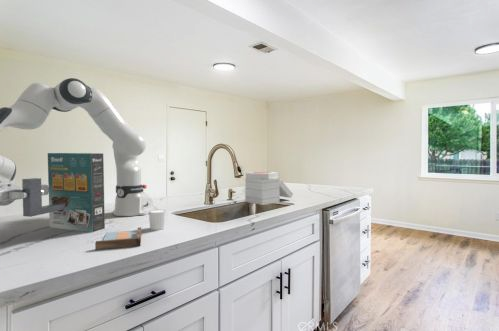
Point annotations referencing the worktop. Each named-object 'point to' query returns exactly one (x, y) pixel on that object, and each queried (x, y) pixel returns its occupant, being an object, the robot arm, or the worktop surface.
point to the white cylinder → (157, 219)
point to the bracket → (36, 199)
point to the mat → (120, 236)
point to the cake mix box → (77, 190)
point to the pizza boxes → (264, 188)
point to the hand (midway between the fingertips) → (34, 194)
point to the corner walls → (119, 242)
